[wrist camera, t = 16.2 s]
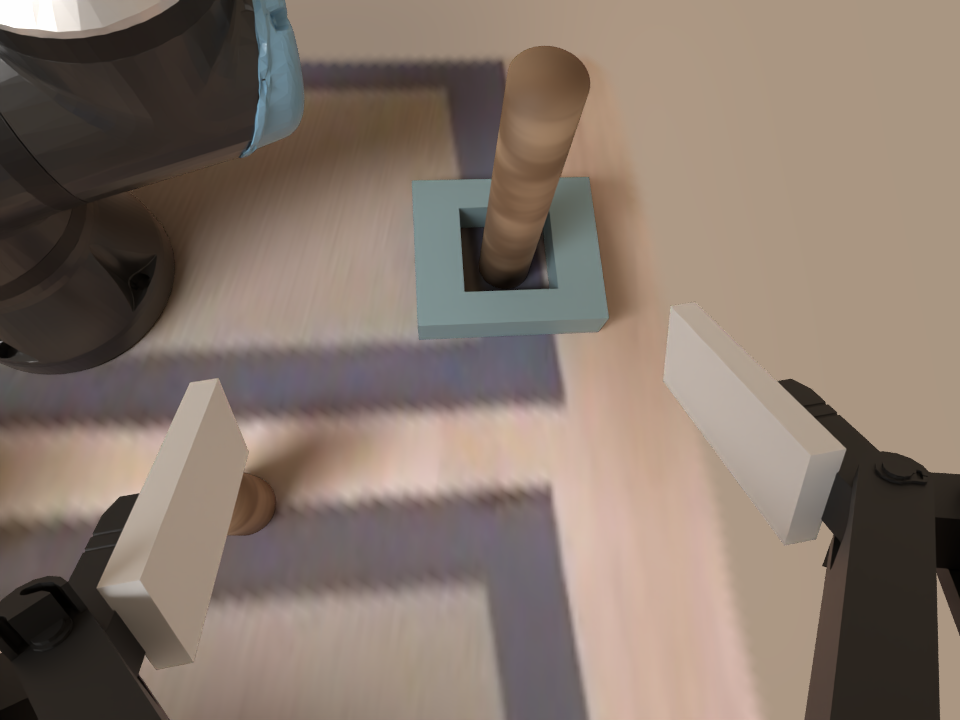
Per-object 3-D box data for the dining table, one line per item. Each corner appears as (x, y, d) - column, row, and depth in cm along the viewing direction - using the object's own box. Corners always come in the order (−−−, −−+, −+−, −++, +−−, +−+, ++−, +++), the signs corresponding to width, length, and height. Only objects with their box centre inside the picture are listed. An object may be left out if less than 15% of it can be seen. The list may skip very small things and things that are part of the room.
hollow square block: (598, 331, 46) (608, 318, 43) (419, 339, 45) (417, 326, 42) (580, 198, 49) (588, 177, 46) (413, 201, 48) (411, 180, 45)
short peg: (205, 497, 40) (142, 485, 32) (258, 464, 41) (211, 445, 33) (233, 547, 39) (175, 549, 31) (286, 513, 40) (245, 506, 32)
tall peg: (469, 258, 47) (490, 67, 28) (509, 235, 48) (557, 33, 29) (497, 297, 46) (539, 127, 27) (538, 273, 47) (606, 91, 28)
